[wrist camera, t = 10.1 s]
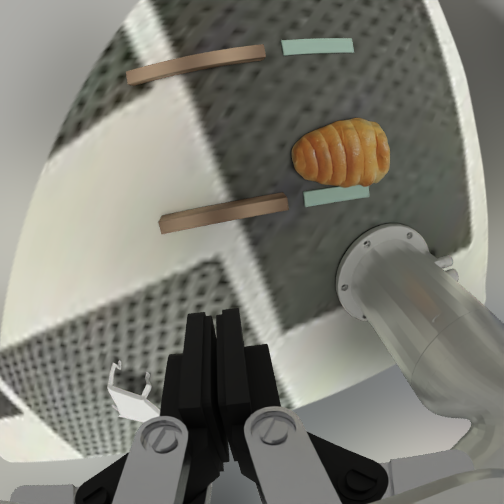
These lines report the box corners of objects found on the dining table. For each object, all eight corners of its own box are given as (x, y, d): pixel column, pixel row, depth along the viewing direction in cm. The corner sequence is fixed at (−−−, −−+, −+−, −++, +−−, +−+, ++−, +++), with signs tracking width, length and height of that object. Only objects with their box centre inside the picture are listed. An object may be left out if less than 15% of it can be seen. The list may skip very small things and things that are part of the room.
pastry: (294, 191, 32) (304, 201, 28) (285, 124, 29) (294, 125, 25) (378, 179, 32) (396, 187, 28) (373, 116, 29) (392, 117, 26)
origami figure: (96, 384, 39) (88, 409, 35) (117, 350, 37) (108, 377, 33) (169, 417, 43) (167, 443, 39) (197, 389, 41) (196, 416, 37)
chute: (260, 48, 25) (263, 44, 23) (284, 204, 32) (288, 209, 30) (131, 74, 25) (125, 71, 23) (164, 227, 31) (161, 234, 30)
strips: (350, 39, 25) (351, 38, 25) (367, 195, 32) (369, 196, 32) (280, 41, 25) (281, 40, 25) (304, 205, 32) (305, 206, 32)
